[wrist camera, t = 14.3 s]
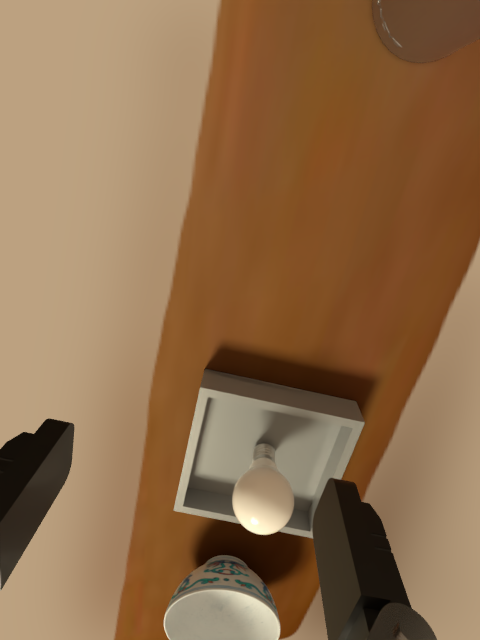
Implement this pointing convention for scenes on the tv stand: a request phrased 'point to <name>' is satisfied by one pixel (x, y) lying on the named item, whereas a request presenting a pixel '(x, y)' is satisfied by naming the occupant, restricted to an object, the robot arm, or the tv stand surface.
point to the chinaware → (222, 604)
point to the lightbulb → (263, 494)
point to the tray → (270, 428)
